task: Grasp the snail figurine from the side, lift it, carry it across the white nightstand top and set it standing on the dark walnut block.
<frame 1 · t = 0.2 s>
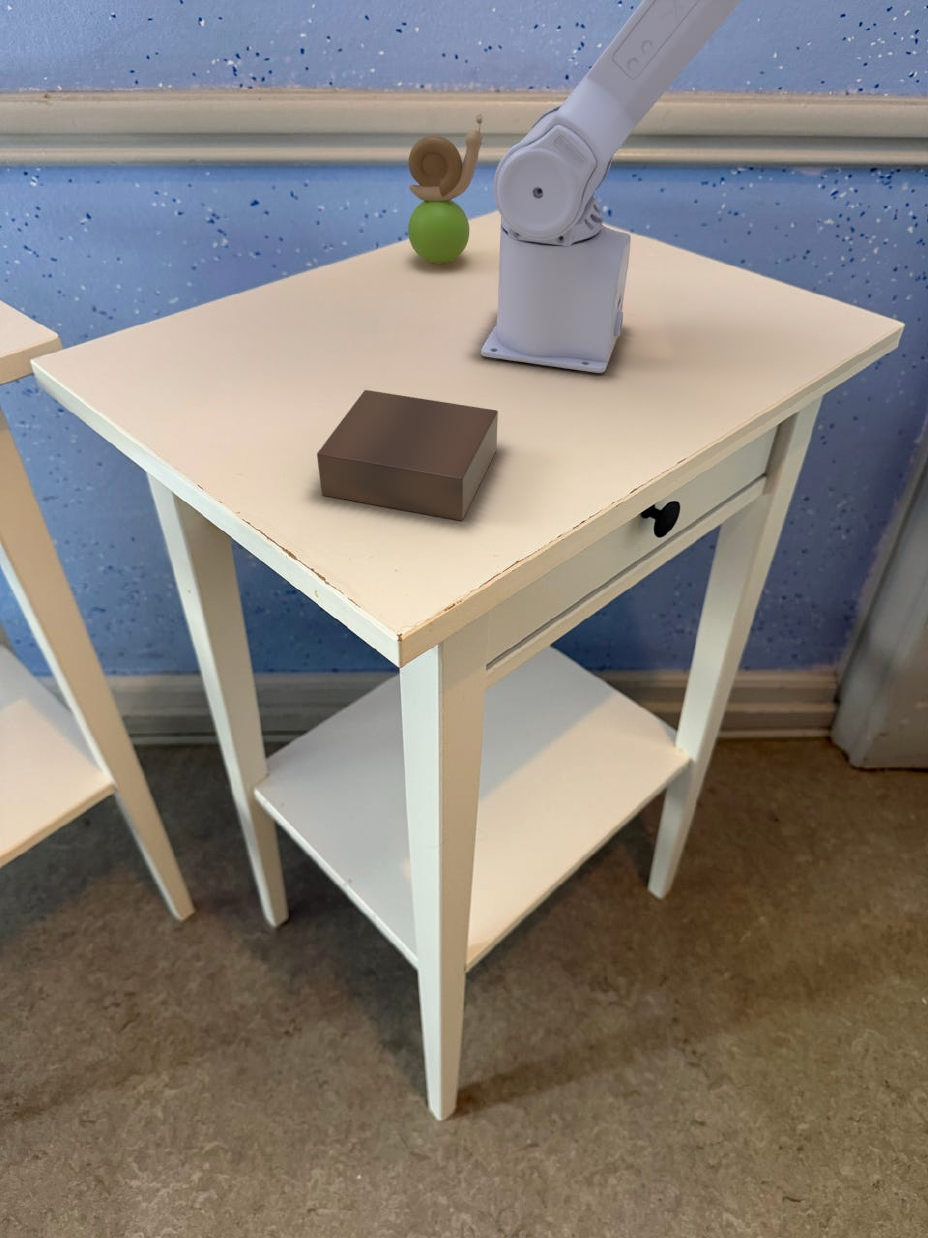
snail figurine: (444, 263, 82), on the table
walnut block: (411, 472, 58), on the table
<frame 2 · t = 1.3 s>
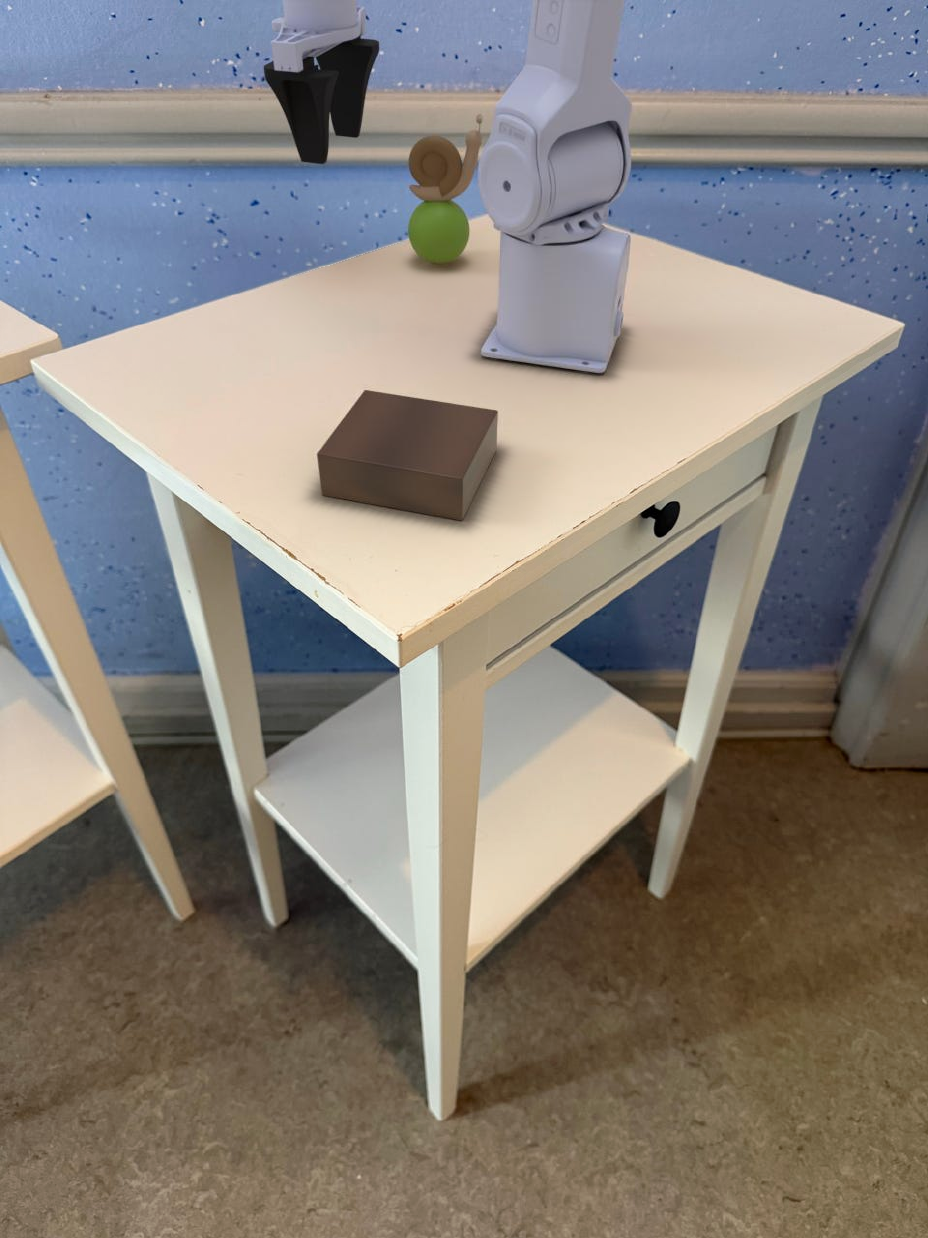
hand: (331, 148, 78), 9 cm above the table, tool pointing down, fingers open, 7 cm apart
nothing on the table moved.
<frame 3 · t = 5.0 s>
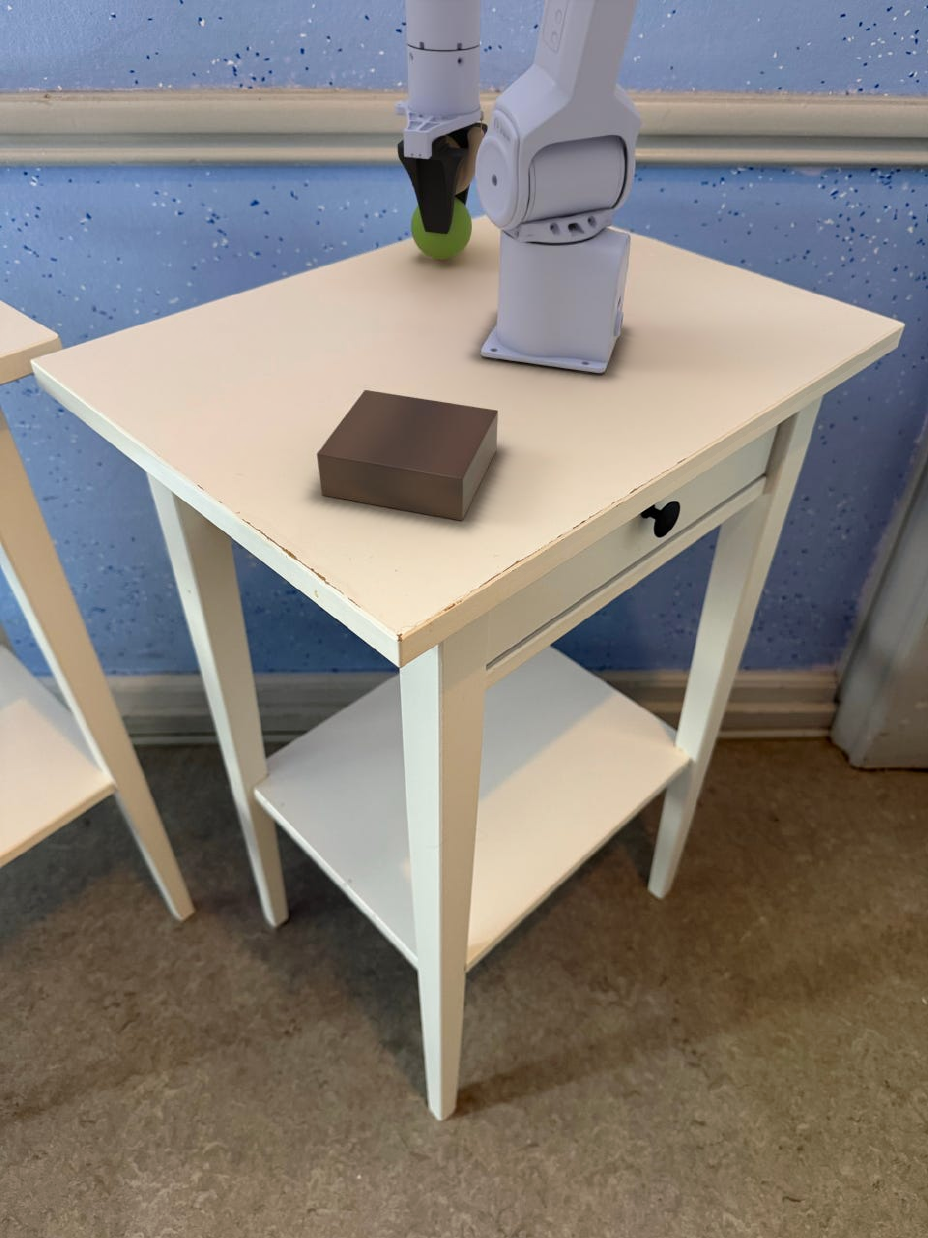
hand: (444, 223, 80), 3 cm above the table, tool pointing down, fingers closed on snail figurine, 3 cm apart
snail figurine: (447, 258, 83), on the table, touching gripper
when the fingers open (6 cm above the table, at t = 10.1 s): snail figurine stays where it is, resting on walnut block.
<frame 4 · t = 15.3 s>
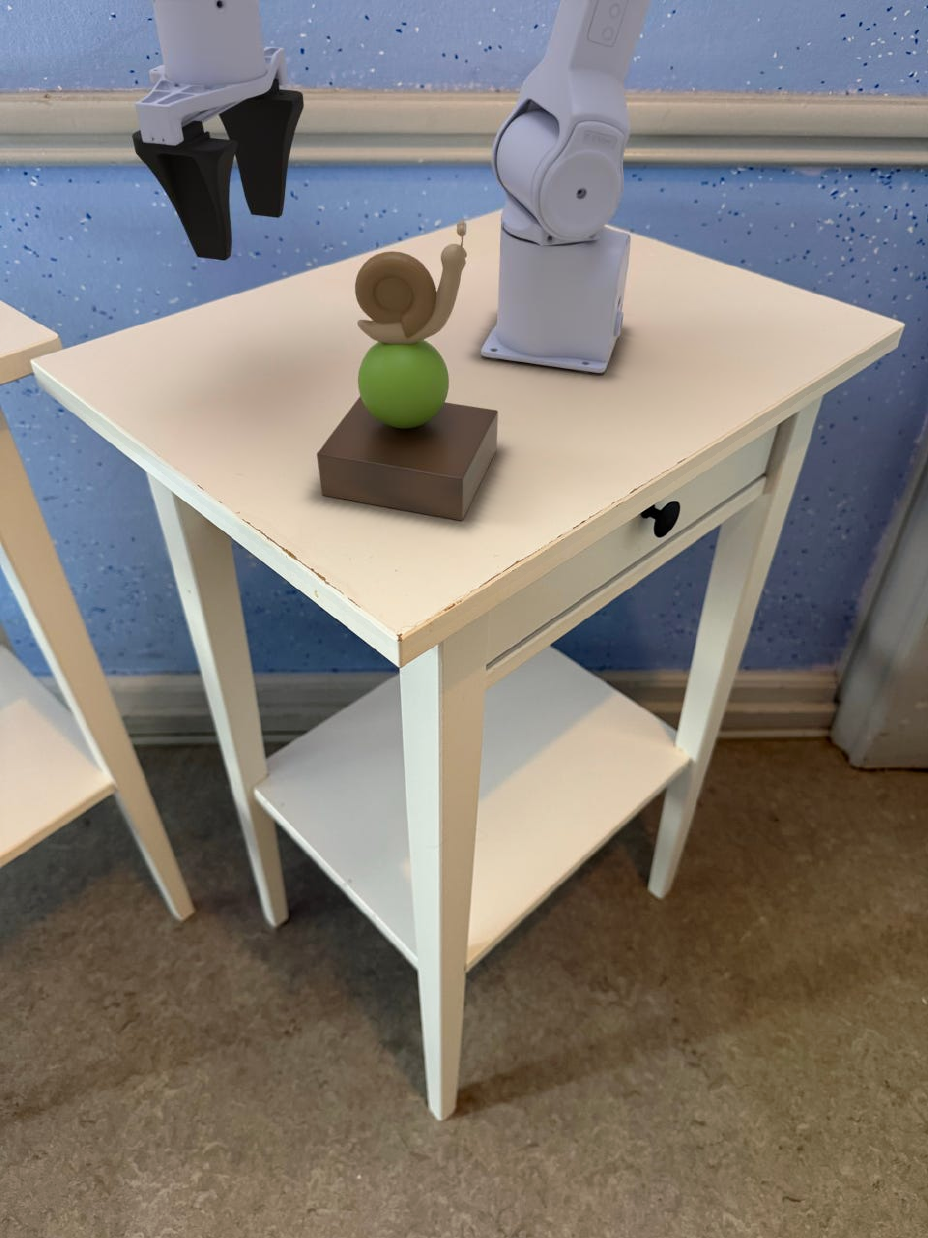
hand: (241, 234, 59), 10 cm above the table, tool pointing down, fingers open, 7 cm apart
snail figurine: (413, 424, 56), point 3 cm above the table, touching walnut block
at the end: snail figurine 1.0 cm off-centre on the walnut block, point 2.8 cm above the walnut block's base; snail figurine tilted 0° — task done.
